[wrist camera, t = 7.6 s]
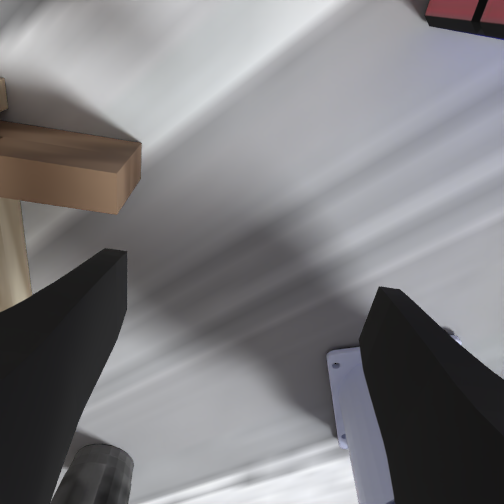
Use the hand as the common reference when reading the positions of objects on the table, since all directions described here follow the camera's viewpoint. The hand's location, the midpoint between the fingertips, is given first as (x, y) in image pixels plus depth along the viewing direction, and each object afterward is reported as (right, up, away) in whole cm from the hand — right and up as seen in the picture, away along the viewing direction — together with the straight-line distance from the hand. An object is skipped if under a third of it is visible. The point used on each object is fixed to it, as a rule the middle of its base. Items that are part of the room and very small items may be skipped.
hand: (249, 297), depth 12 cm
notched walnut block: (-12, +7, +8) cm, 16 cm away
